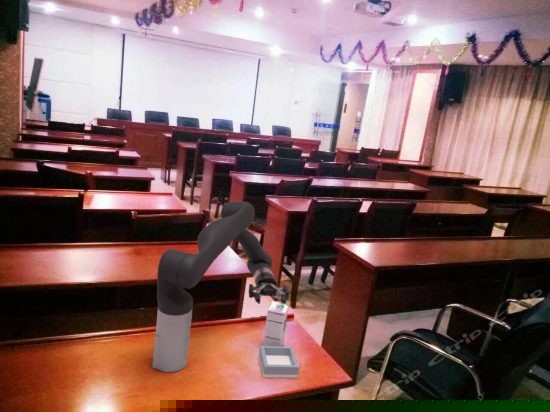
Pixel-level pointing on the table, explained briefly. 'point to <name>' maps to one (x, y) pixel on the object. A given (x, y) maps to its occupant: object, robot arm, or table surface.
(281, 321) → the syrup box
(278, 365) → the collar plate
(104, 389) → the table surface
